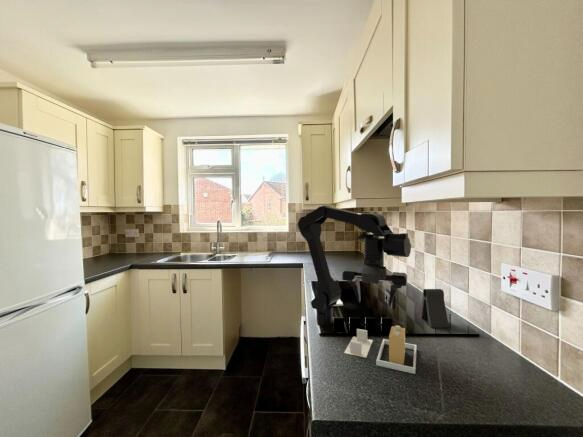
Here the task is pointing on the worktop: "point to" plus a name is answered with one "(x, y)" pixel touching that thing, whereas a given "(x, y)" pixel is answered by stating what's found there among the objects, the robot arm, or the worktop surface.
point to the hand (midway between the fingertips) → (374, 304)
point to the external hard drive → (337, 303)
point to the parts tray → (394, 365)
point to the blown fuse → (397, 345)
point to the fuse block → (359, 344)
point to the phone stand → (434, 309)
